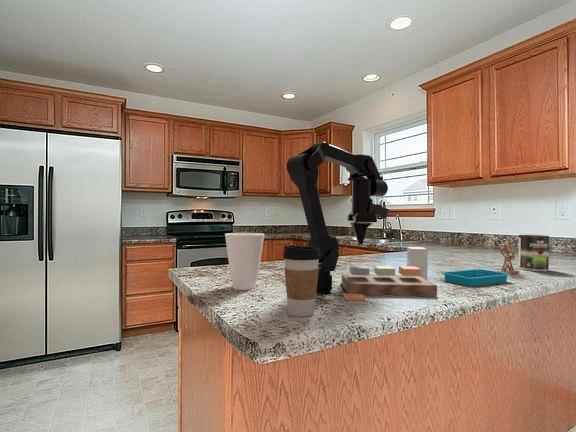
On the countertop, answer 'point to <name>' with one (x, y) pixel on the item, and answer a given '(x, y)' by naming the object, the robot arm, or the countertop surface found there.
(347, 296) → the tile
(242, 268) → the cup
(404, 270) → the terracotta button
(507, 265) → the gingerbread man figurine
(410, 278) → the wooden sorting tray
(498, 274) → the ice cube tray
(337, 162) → the robot arm
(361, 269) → the slate button
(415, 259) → the small box
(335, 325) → the countertop surface
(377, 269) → the sage button
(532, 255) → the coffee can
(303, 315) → the coffee cup
